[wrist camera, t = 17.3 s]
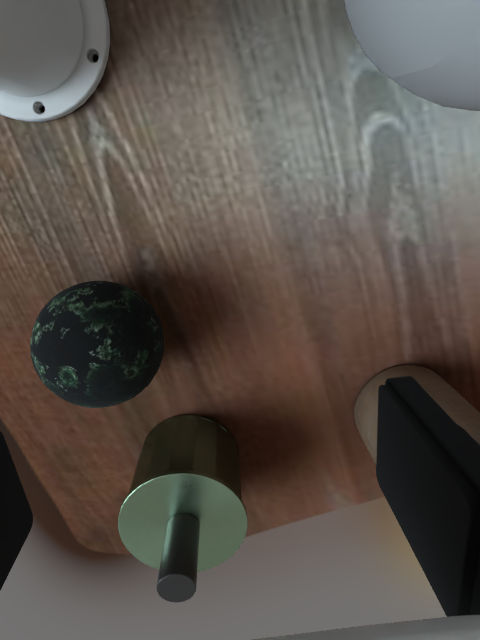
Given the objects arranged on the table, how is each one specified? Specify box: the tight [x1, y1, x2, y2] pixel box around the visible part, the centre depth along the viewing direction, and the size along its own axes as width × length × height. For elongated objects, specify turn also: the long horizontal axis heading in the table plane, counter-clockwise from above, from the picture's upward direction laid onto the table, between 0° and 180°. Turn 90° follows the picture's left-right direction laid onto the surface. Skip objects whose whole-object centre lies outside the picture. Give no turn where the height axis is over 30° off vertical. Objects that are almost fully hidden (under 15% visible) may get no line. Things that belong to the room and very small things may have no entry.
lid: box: [118, 470, 247, 602], centre depth 32 cm, size 11×11×7 cm
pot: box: [129, 414, 241, 498], centre depth 39 cm, size 10×10×8 cm
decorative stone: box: [30, 281, 164, 408], centre depth 33 cm, size 10×10×10 cm
